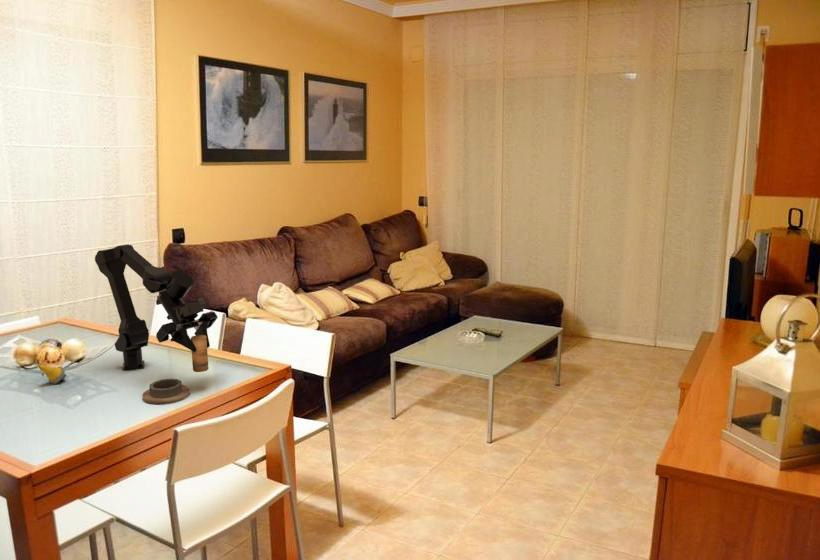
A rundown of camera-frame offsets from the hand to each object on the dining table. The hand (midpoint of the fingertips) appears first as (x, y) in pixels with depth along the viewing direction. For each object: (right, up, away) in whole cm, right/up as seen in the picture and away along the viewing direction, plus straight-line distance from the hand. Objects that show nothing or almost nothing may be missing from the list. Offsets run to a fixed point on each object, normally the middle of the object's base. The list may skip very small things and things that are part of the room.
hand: (202, 349), depth 199 cm
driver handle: (-1, -6, +2) cm, 7 cm away
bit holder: (-10, -13, -2) cm, 17 cm away
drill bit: (-47, -11, +8) cm, 49 cm away
